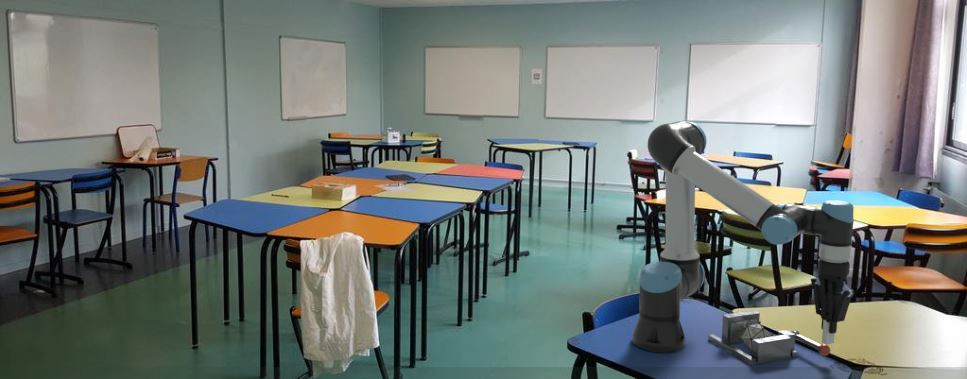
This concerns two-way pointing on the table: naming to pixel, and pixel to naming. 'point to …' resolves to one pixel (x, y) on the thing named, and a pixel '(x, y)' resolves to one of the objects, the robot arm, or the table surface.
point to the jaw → (737, 325)
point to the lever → (812, 343)
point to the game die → (754, 334)
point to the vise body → (763, 348)
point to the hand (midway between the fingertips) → (827, 342)
